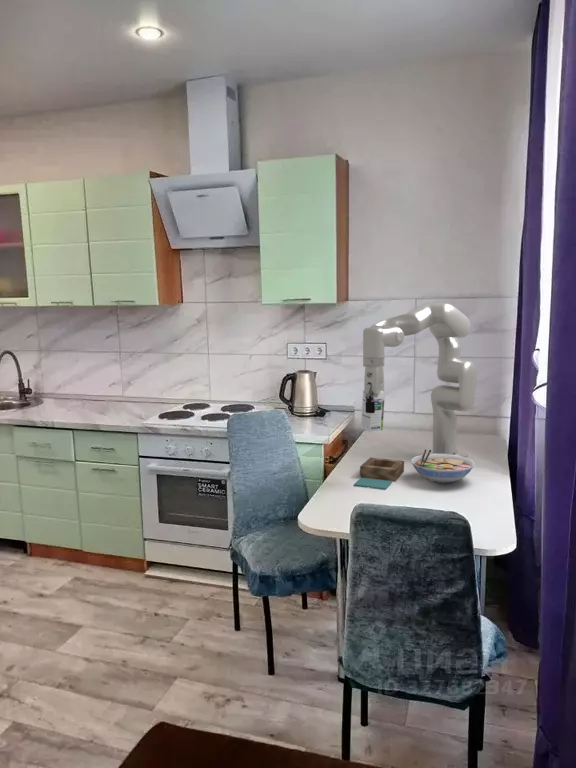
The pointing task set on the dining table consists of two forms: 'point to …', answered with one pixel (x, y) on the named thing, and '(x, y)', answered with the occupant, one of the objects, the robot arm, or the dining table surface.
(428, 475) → the ramen bowl
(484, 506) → the dining table surface
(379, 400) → the syrup box
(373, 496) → the dining table surface
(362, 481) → the teal mat
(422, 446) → the dining table surface
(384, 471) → the walnut collar
